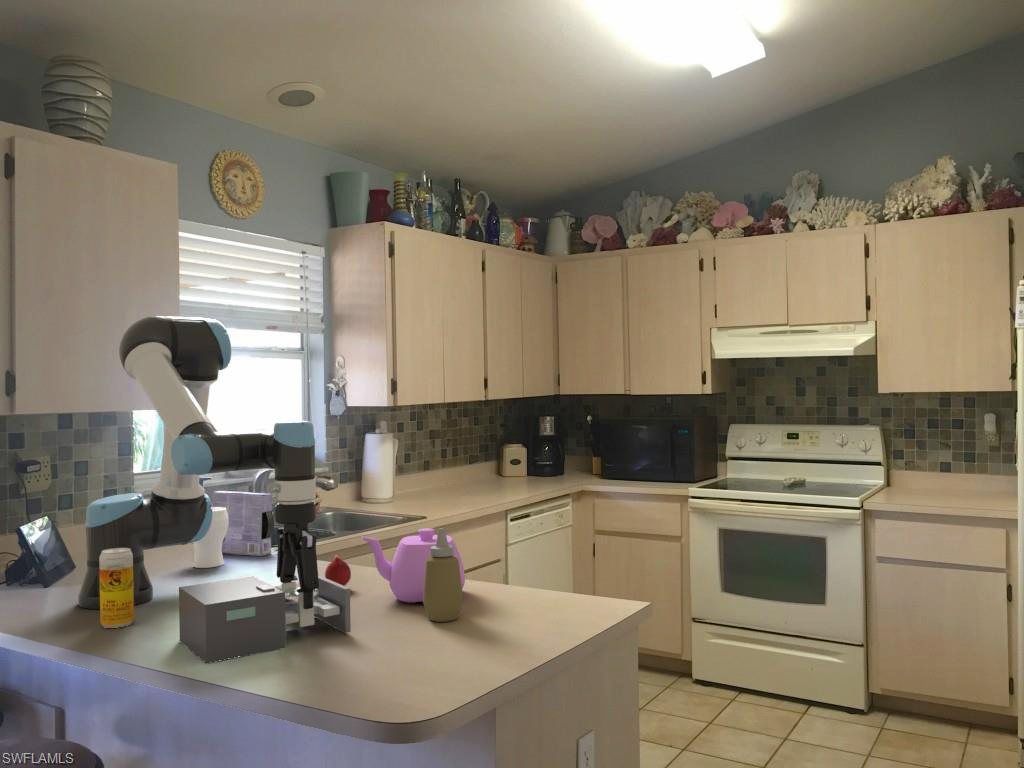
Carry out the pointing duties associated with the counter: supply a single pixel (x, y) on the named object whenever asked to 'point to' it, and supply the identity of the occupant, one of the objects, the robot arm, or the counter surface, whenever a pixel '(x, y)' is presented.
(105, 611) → the beer can
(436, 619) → the squeeze bottle
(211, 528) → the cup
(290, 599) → the disc
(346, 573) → the onion
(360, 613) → the counter surface
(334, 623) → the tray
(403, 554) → the teapot
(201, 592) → the box
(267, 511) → the cake pan box
